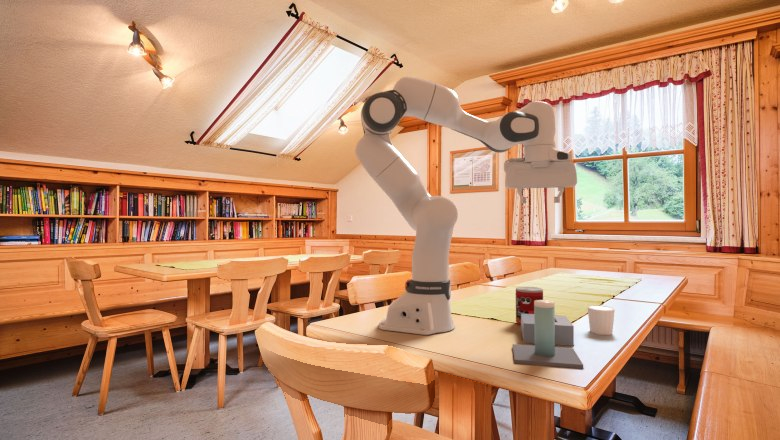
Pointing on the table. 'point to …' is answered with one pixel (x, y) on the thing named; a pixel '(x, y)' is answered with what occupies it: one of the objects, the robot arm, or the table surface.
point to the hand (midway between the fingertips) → (540, 203)
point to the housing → (562, 330)
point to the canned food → (526, 300)
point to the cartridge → (544, 327)
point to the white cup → (601, 319)
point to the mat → (560, 359)
